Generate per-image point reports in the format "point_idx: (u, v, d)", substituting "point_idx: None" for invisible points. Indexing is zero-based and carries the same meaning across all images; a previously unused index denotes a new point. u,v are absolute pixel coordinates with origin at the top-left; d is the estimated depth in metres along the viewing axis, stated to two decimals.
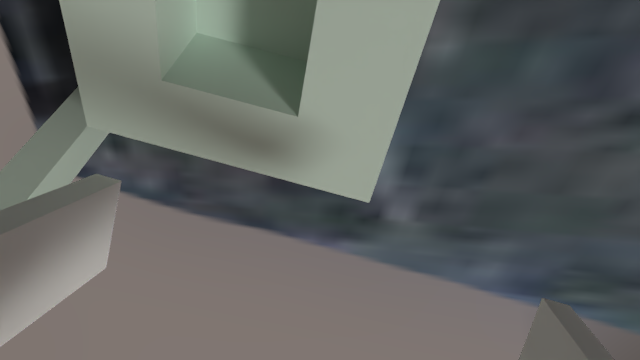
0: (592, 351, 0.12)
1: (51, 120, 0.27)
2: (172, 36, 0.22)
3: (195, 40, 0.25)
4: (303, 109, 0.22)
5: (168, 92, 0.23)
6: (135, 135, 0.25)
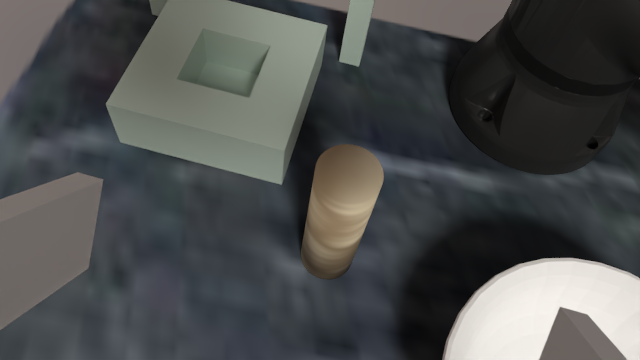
0: None
1: None
2: (219, 43, 0.46)
3: (205, 58, 0.48)
4: (181, 82, 0.42)
5: (195, 28, 0.45)
6: (167, 5, 0.46)
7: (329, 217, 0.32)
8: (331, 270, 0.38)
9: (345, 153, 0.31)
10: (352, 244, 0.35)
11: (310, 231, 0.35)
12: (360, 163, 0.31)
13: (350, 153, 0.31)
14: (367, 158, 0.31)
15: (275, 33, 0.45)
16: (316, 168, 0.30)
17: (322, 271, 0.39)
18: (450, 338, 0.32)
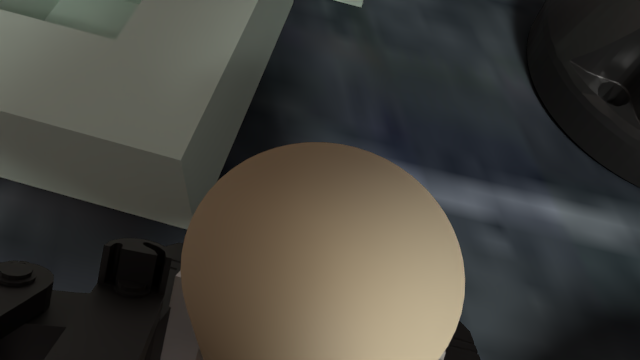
0: None
1: None
2: None
3: None
4: None
5: None
6: None
7: None
8: None
9: (313, 176, 0.08)
10: None
11: None
12: (371, 217, 0.08)
13: (332, 177, 0.08)
14: (399, 196, 0.08)
15: None
16: (189, 239, 0.07)
17: None
18: None
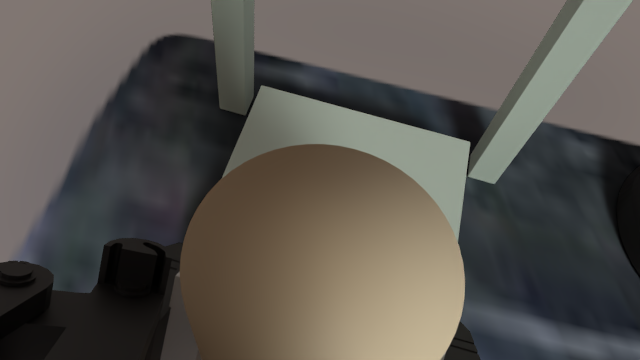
0: None
1: (253, 61, 0.37)
2: None
3: None
4: None
5: None
6: (253, 113, 0.33)
7: None
8: None
9: (313, 178, 0.08)
10: None
11: None
12: (370, 219, 0.08)
13: (332, 178, 0.08)
14: (399, 199, 0.08)
15: (403, 156, 0.33)
16: (189, 241, 0.07)
17: None
18: None
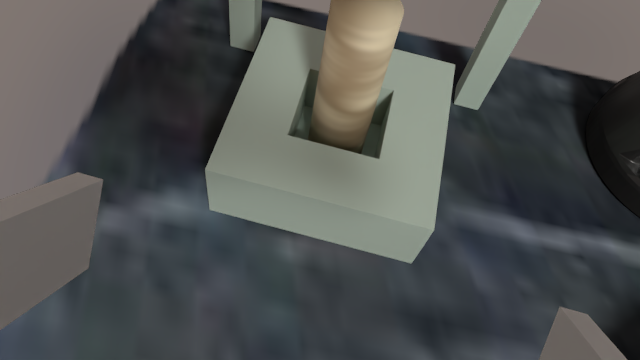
0: None
1: (261, 0, 0.41)
2: None
3: (304, 102, 0.39)
4: (293, 139, 0.33)
5: (301, 69, 0.36)
6: (263, 39, 0.38)
7: (346, 59, 0.29)
8: None
9: None
10: (368, 108, 0.33)
11: (322, 95, 0.33)
12: None
13: None
14: None
15: (397, 75, 0.37)
16: (332, 0, 0.28)
17: None
18: None
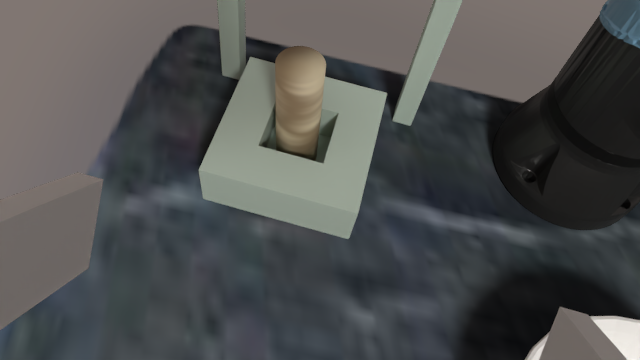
0: None
1: (244, 42, 0.55)
2: None
3: (275, 120, 0.53)
4: (262, 148, 0.47)
5: (271, 97, 0.50)
6: (244, 74, 0.51)
7: (289, 100, 0.42)
8: None
9: (297, 51, 0.42)
10: (311, 129, 0.46)
11: (278, 122, 0.46)
12: (308, 57, 0.42)
13: (301, 51, 0.42)
14: (313, 54, 0.42)
15: (342, 101, 0.51)
16: (276, 62, 0.41)
17: None
18: None
